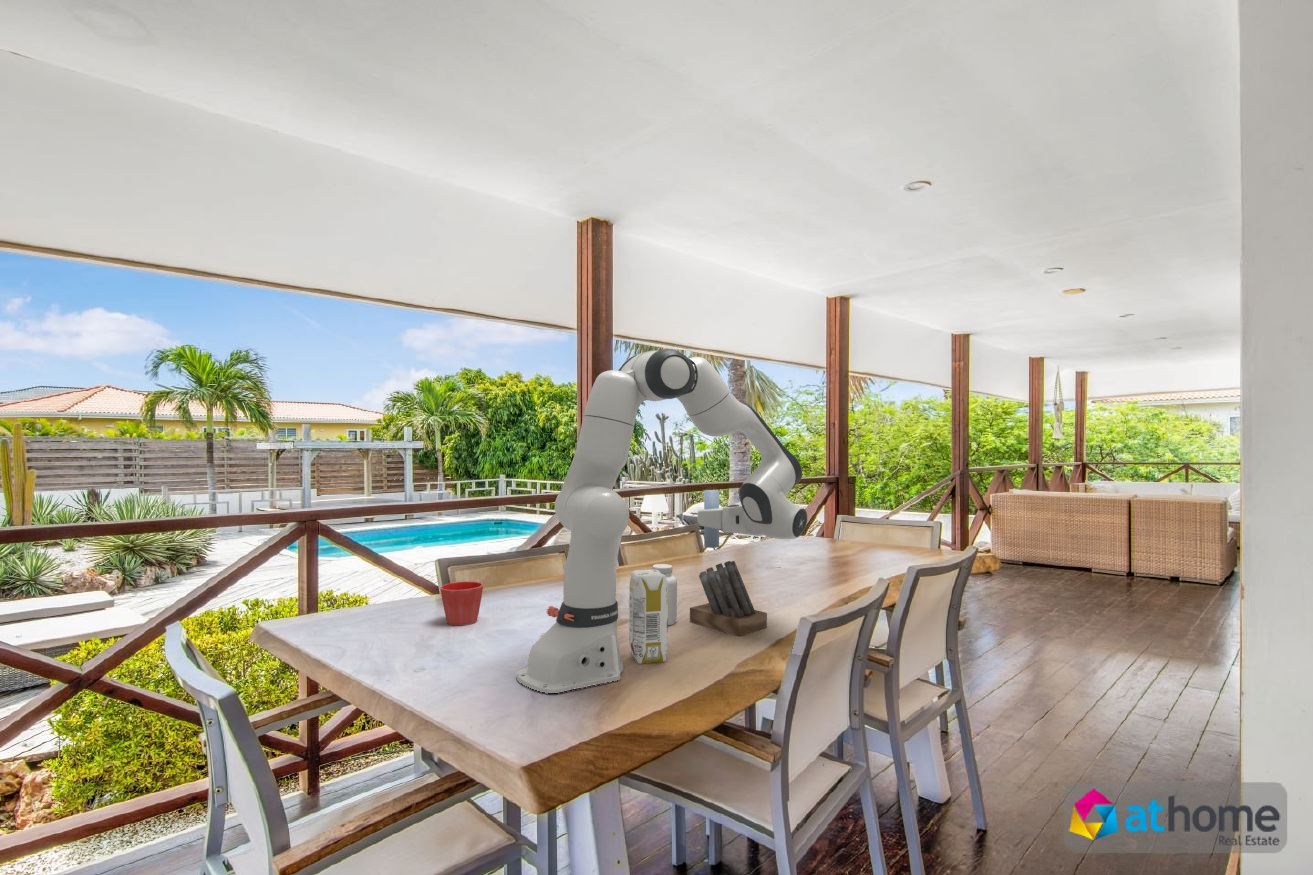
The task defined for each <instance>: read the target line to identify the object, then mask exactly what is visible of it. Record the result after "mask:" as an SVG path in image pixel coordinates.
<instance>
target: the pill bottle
mask: <svg viewBox="0 0 1313 875" xmlns="http://www.w3.org/2000/svg"><path fill="white" fill-rule="evenodd" d="M651 570H658V571H659V572H660V573H661V574H664V575H666V580H667V585H668V626H670V625H674V624H676V623H677V616H678V615H677V614H678V613H677V612H678V611H677V610H678V580H677V578H676V576H675V575H673V566H672V565H671V564H667V563H656V564H653V565H652V569H651Z"/></svg>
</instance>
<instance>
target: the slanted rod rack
mask: <svg viewBox="0 0 1313 875" xmlns="http://www.w3.org/2000/svg"><path fill="white" fill-rule="evenodd" d="M715 569H716V570H714V568H713V567H712V566H711V567H708V568H706V569H705V570H704V571H701V572H700V573H699V575H698V578H699V581H700V583H701V586H702V588H703V591H704V594H705V596H706V599H707V601H708V603H704V604H700V605H696V606H691V607H689V623H691V624H696V625H699V626H702V627H706V628H709V629H713V630H717V631H719V632H724V633H726V634H727V633H728V634H730V635H733V636H738V637H740V636H744V635H747V634H751V633H754V632H758V631H760V630H763V629H767V628H768V613H767V612H765V611H761V610H756V609H755V608H754V605H753V602H752V600H751V598H750V595H749V593H748V591H747V588H746V585H745V583H744V581H743V578H742V576H741V573H740V571H739V568H738V566H737V564H736V561H735V560H727V561H726V562H724V563H721V562H720V563H718V564H716V565H715Z"/></svg>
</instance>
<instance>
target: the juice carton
mask: <svg viewBox="0 0 1313 875" xmlns="http://www.w3.org/2000/svg"><path fill="white" fill-rule="evenodd" d="M628 587H629V590H628V591H629V596H628V597H629V603H628V604H629V605H628V606H629V608H628V610H629V613H628V614H629V615H628V616H629V619H628V621H629V622H628V623H629V628H628V629H629V632H628V633H629V634H628V635H629V637H628V638H629V639H628V640H629V642H628V643H629V647H630V648H629V649H630V653H631V655H632V657H633V658H634V659H635V660H636V662H637V664H639V665H642V664H654V663H655V664H656V663H663V662H666V659H667V654H668V646H669V645H668V638H669V634H668V632H669V631H668V630H669V625H668V585H667V580H666V575H664V574H661V573H660V572H659V571H658V570H652V569H641V570H638V569H637V570H631V574H630V578H629V586H628Z"/></svg>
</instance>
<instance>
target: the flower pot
mask: <svg viewBox="0 0 1313 875" xmlns="http://www.w3.org/2000/svg"><path fill="white" fill-rule="evenodd" d="M439 590H440V594H441V601H442V605H443V610H444V615H445V616H444V617H445V621H446V623H447V625H449V624H450V626H467V625H472V624H475V623H476V622H478V618H479V614H480V613H479V612H480V607H481V602H482V596H483V590H484V583H482V582H478V581H454V582H450V583H446V584H443V585H441V586H440V589H439Z"/></svg>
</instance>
